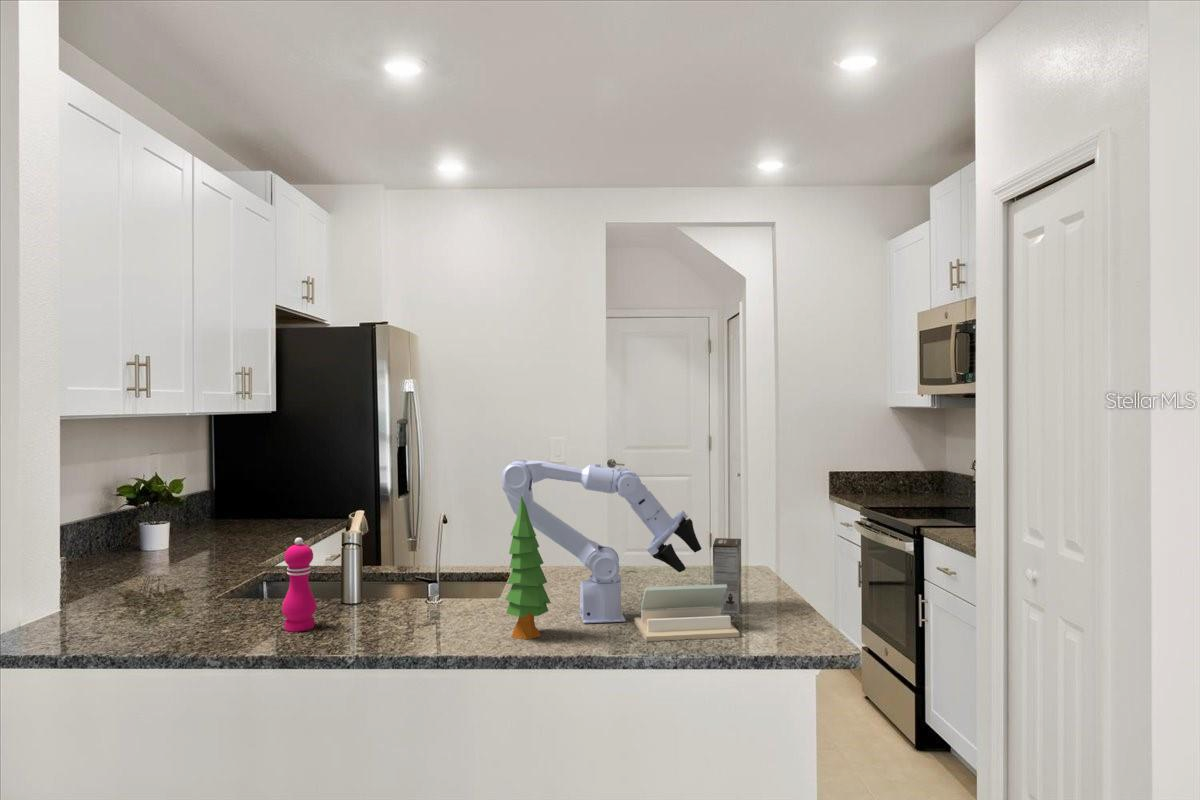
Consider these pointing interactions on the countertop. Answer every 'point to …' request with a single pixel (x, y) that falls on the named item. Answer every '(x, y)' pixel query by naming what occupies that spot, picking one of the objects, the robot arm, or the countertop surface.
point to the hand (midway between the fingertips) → (690, 560)
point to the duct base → (685, 624)
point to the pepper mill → (299, 589)
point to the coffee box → (728, 572)
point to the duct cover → (683, 596)
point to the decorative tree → (526, 578)
